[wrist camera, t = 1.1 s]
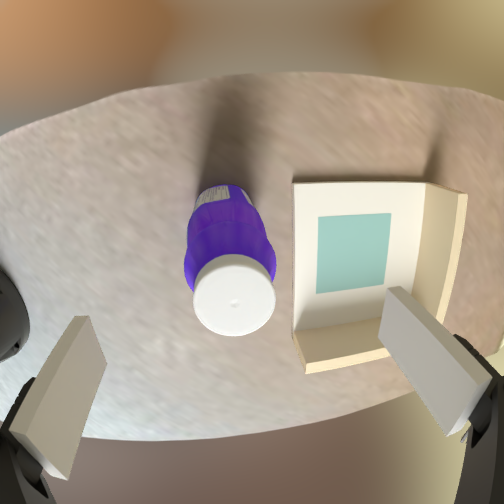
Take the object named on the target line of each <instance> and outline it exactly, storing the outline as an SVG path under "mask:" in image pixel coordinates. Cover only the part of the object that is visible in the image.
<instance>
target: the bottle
mask: <svg viewBox="0 0 504 504" xmlns="http://www.w3.org/2000/svg"><path fill="white" fill-rule="evenodd" d="M184 272H185V277H186V280H187V283H188V285H189V287H190V288H191V289H192V291H193V292H194V293H193V306H194V311H195V313H196V315H197V317H198V319H199V320H200V321H201V322H202V323H203V324H204V325H205V326H206V327H207V328H208V329H210V330H211V331H213V332H215V333H218V334H221V335H226V336H240V335H245V334H248V333H251V332H253V331H255V330H257V329H259V328H260V327H261V326H263V325H264V324H265V323H266V322H267V321H268V319H269V318H270V316H271V315H272V313H273V310H274V307H275V303H276V294H275V289H274V287H273V284H272V282H273V280H274V276H275V272H276V256H275V252H274V250H273V248H272V246H271V244H270V243H269V241H268V239H267V236H266V232H265V228H264V224H263V222H262V220H261V218H260V215H259V213H258V212H257V210H256V209H255V208H254V206H253V204H252V203H251V201H250V198H249V196H248V195H247V193H246V192H245V191H244V190H243V189H242V188H240V187H238V186H236V185H226V184H222V185H217V186H213V187H211V188H208V189H206V190H205V191H203V192H202V193H201V194H200V195H199V197H198V199H197V201H196V204H195V207H194V210H193V213H192V216H191V218H190V221H189V224H188V227H187V251H186V255H185V260H184Z"/></svg>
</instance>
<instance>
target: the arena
mask: <svg viewBox="0 0 504 504" xmlns="http://www.w3.org/2000/svg"><path fill="white" fill-rule="evenodd" d="M467 198H468V194H466V193H463V192H460V191H457V190H454V189H451V188H448V187H445V186H441V185H438V184H435V183H431V182H407V181H335V182H302V183H292V219H293V300H292V339H293V341H294V344H295V347H296V350H297V352H298V355H299V358H300V360H301V363H302V366H303V368H304V371H305V374H309V373H315V372H320V371H325V370H331V369H336V368H341V367H346V366H350V365H355V364H359V363H364V362H368V361H372V360H376V359H380V358H384V357H388V356H391V355H390V353H389V352H388V351H387V349H386V348H385V347H384V345H383V344H382V342H381V341H380V340H379V338H378V333H379V328H380V324H381V318H382V313H383V308H384V302H385V296H386V290H387V288H390V287H396V286H401V287H402V288H404V289H405V290H406V291H407V292H408V293H409V294H410V295H411V296H412V297H413V298H414V299H415V300H417V301H418V302H419V303H420V304H421V305H422V306H423V307H424V308H425V309H426V310H427V311H428V312H429V313H430V314H431V315H432V316H433V317H434V318H435V319H437V320H438V321H439V322H440V323H441V324H443V320H444V317H445V313H446V310H447V306H448V303H449V299H450V295H451V291H452V287H453V283H454V278H455V274H456V269H457V264H458V259H459V254H460V249H461V243H462V237H463V230H464V223H465V216H466V207H467Z"/></svg>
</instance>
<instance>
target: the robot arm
mask: <svg viewBox="0 0 504 504" xmlns="http://www.w3.org/2000/svg"><path fill="white" fill-rule="evenodd" d="M29 331H30V325H29V318H28V314H27V311H26V308H25V305H24V303H23V301H22V299H21V297H20V295H19V293H18V291H17V290H16V288H15V287H14V285H13V284H12V282H11V281H10V280H9V278H8V277H7V276H6V275H5V274H4V273H3V272H2V271H1V270H0V363H1V362H3V361H5V360H7V359H8V358H10V357H12V356H14V355H15V354H17V353H18V352H19V351H20V350H21V349H22V347H23V346H24V344H25V343H26V342H27V340H28V337H29ZM378 338H379V340H380V341H381V342H382V344H383V345H384V347H385V348H386V349H387V351H388V352H389V353H390V355H391V356H392V358H393V359H394V360H395V362H396V363H397V365H398V366H399V367H400V369H401V370H402V372H403V373H404V375H405V376H406V377H407V379H408V380H409V382H410V383H411V385H412V386H413V387H414V389H415V390H416V392H417V393H418V395H419V396H420V398H421V399H422V401H423V402H424V404H425V405H426V407H427V408H428V410H429V411H430V413H431V414H432V415H433V417H434V418H435V420H436V422H437V423H438V425H439V426H440V428H441V429H442V431H443V432H444V434H445V436H446V437H448V436H449V435H452V434H453V433H455V432H457V431H459V430H461V429H462V428H463V426H464V425H465V423H466V422H467V420H469V421H470V422H471V426H470V427H469V429H468V430H467V431H466V433H465V434H464V436H463V437H462V439H461V443H462V442H463V441H464V440H465V438H466V437H467V436H468V438H467V442H466V443H467V445H466V452H465V457H464V463H463V468H462V473H461V478H460V482H459V486H458V490H457V494H456V499H455V502H454V504H504V376H501V375H500V374H499V373H498V372H497V371H496V370H495V369H494V368H493V367H492V366H491V365H490V364H489V363H488V361H486V360H485V358H484V357H483V356H482V355H479V352H478V351H477V350H476V349H474V348H473V346H472V345H471V344H470V343H469V342H468V341H467V340H466V339H464V338H462V337H460V336H458V335H457V334H454V335H452V334H451V333H450V332H449V331H448V330H447V329H446V328H445V327H444V326H443V325H442V324H441V323H440V322H439V321H438V320H437V319H435V318H434V317H433V316H432V315H431V314H430V313H429V312H428V311H427V310H426V309H425V308H424V307H423V306H422V305H421V304H420V303H419V302H418V301H417V300H415V299H414V298H413V297H412V296H411V295H410V294H409V293H408V292H407V291H406V290H405V289H404V288H402V287H401V286H396V287H390V288H387V290H386V296H385V302H384V308H383V313H382V318H381V324H380V328H379V333H378ZM106 366H107V362H106V359H105V357H104V355H103V352H102V350H101V347H100V345H99V342H98V339H97V337H96V334H95V331H94V329H93V326H92V323H91V320H90V317H89V316H75V317H74V318H73V319H72V321H71V322H70V324H69V325H68V327H67V328H66V330H65V332H64V333H63V335H62V336H61V338H60V339H59V341H58V342H57V344H56V346H55V347H54V349H53V350H52V352H51V354H50V355H49V357H48V358H47V360H46V362H45V363H44V365H43V367H42V368H41V370H40V372H39V374H38V375H37V377H36V378H35V377H32V378H31V379H30V380H29V381H28V382H27V383H26V384H24V386H23V387H22V389H21V391H20V393H19V394H18V395H19V396H17V398H16V400H15V404H13V405H12V407H11V409H10V411H9V413H8V415H7V417H6V419H5V420H4V422H3V424H2V426H1V428H0V504H56V501H55V499H54V497H53V495H52V493H51V491H50V489H49V487H48V484H47V482H46V480H45V478H44V477H43V475H42V474H41V472H42V469H43V468H44V469H45V470H46V471H47V472H48V473H49V474H50V475H51V476H54V477H58V478H61V479H65V480H69V476H70V472H71V468H72V465H73V461H74V458H75V454H76V451H77V448H78V445H79V442H80V439H81V435H82V432H83V429H84V426H85V423H86V420H87V417H88V414H89V411H90V409H91V406H92V403H93V400H94V397H95V395H96V392H97V389H98V387H99V384H100V381H101V379H102V376H103V373H104V371H105V368H106Z"/></svg>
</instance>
